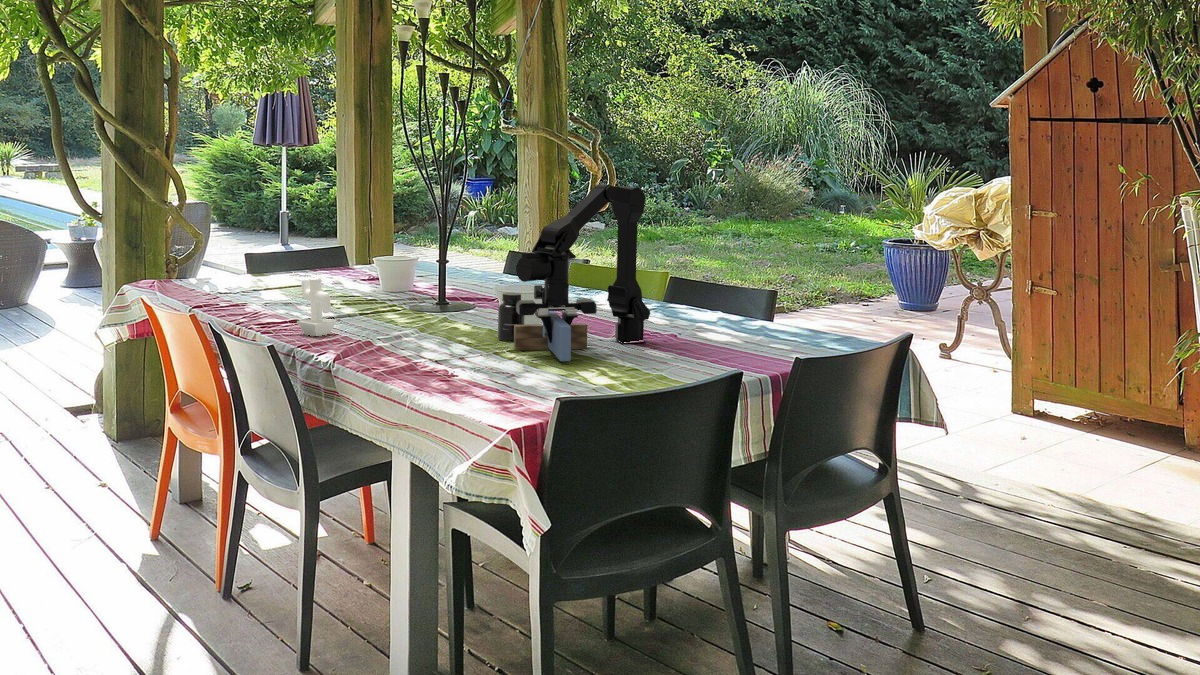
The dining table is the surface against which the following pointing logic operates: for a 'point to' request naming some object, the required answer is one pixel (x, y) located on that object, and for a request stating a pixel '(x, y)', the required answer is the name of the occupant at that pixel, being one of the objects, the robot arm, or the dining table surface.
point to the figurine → (316, 308)
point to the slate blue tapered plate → (559, 337)
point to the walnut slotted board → (546, 337)
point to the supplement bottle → (509, 317)
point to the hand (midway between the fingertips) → (556, 342)
